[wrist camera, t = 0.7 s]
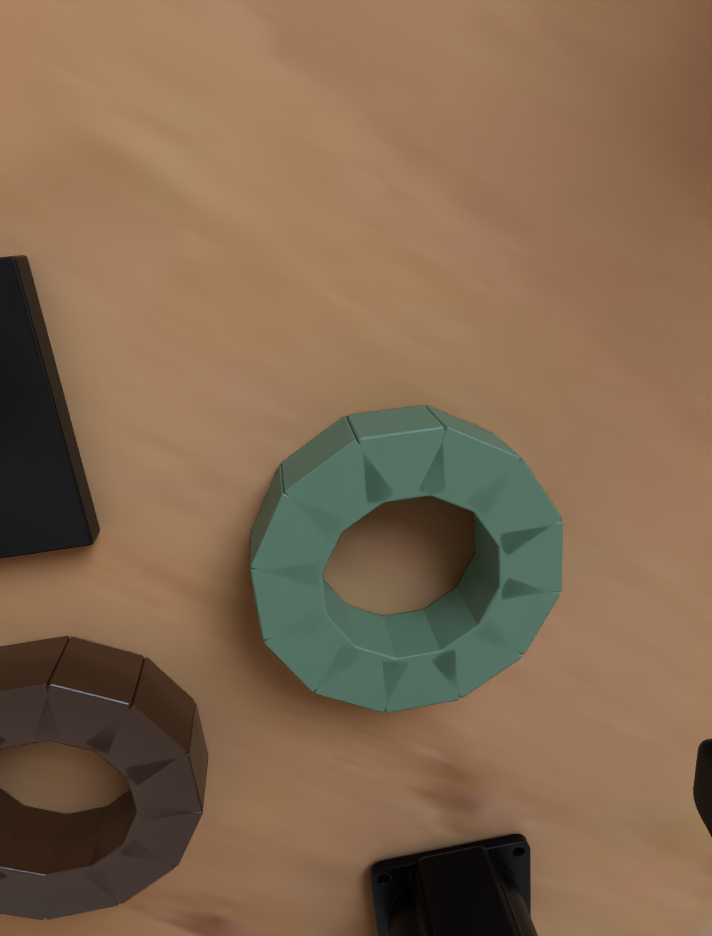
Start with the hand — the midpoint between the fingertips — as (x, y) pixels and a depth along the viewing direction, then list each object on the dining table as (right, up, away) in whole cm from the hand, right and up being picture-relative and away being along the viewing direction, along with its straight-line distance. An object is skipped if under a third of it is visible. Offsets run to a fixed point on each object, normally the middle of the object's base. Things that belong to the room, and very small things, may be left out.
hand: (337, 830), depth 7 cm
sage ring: (+2, +2, +14) cm, 14 cm away
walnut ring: (-10, -6, +15) cm, 18 cm away
